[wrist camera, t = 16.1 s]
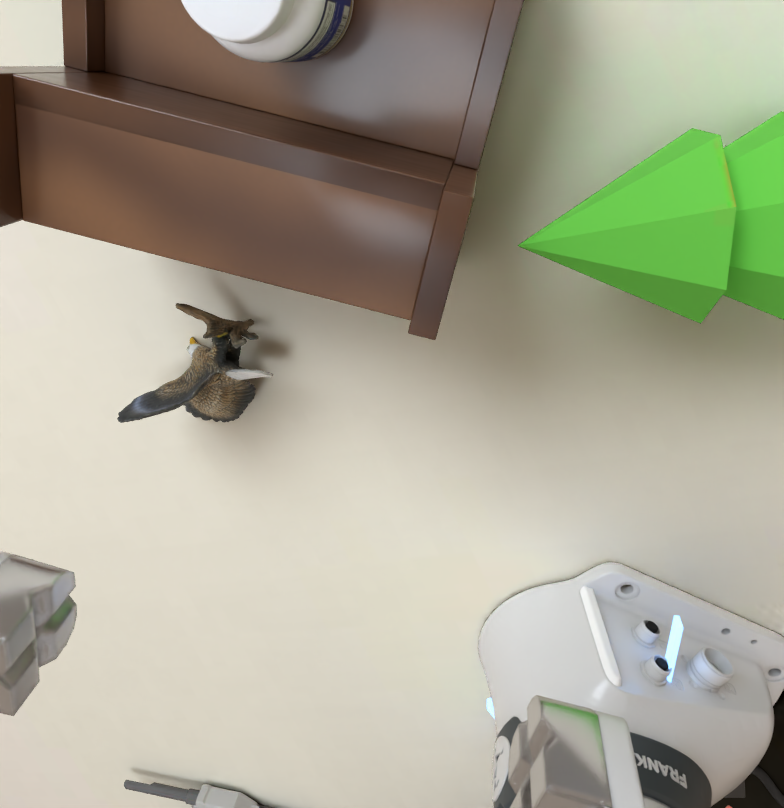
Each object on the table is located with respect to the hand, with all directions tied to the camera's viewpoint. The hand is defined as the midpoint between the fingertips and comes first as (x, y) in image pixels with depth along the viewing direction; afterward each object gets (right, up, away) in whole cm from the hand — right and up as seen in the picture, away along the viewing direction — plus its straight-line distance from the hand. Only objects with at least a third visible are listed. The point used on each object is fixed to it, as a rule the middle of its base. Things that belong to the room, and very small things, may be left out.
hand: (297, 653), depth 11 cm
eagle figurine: (-10, +7, +31) cm, 33 cm away
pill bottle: (-3, +23, +18) cm, 29 cm away
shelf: (-3, +22, +22) cm, 31 cm away
